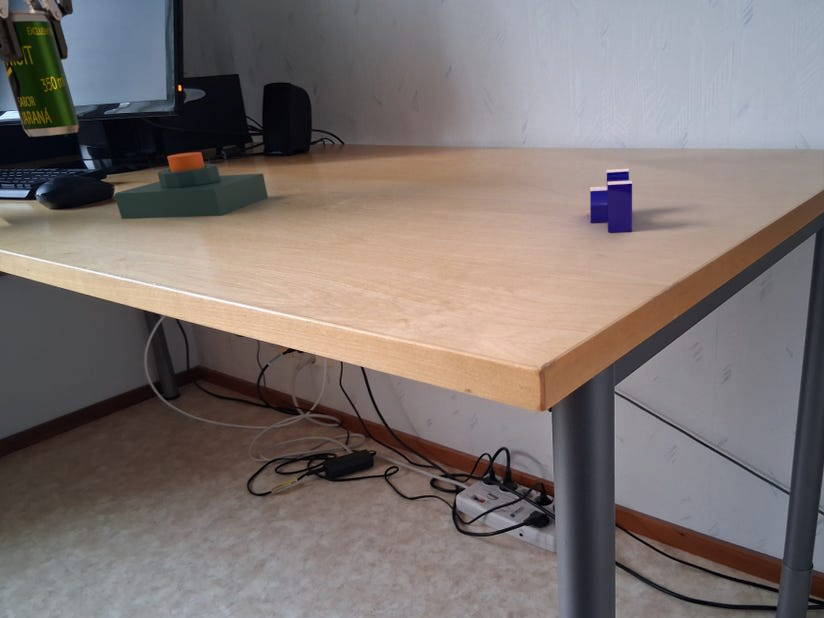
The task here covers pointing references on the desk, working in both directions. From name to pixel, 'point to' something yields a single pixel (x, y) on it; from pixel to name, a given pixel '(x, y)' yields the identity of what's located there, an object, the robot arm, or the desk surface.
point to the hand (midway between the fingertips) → (35, 59)
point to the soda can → (40, 78)
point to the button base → (191, 194)
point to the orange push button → (186, 161)
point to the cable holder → (613, 201)
